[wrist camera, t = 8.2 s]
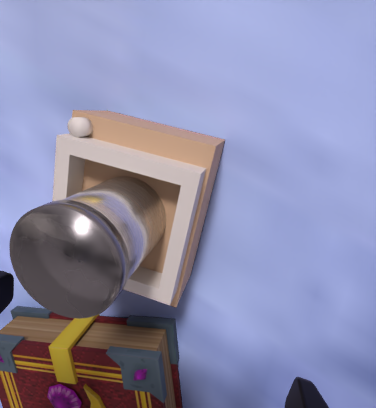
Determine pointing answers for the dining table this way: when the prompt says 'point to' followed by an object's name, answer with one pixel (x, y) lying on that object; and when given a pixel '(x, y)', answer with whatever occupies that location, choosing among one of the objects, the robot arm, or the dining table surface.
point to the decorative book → (88, 361)
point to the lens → (86, 245)
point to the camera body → (150, 174)
